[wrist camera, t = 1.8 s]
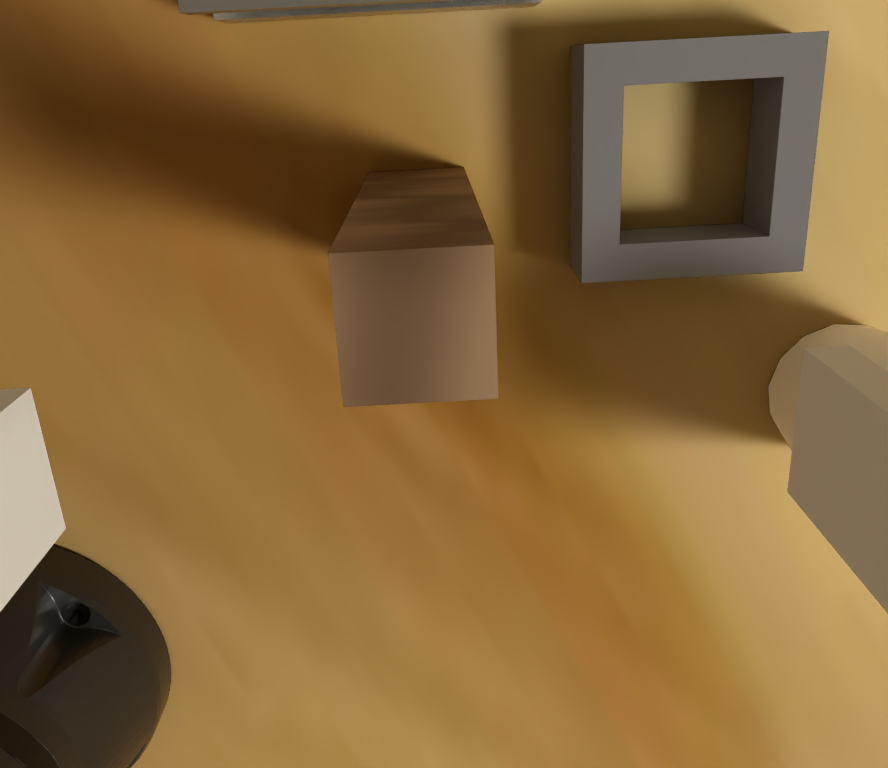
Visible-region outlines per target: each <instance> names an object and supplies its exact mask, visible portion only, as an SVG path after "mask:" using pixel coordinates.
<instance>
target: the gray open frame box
mask: <svg viewBox="0 0 888 768" xmlns="http://www.w3.org/2000/svg"><path fill="white" fill-rule="evenodd" d="M539 3H541V0H178V5H179V11H180V13H182V14H186V15H195V14H213V17H214V20H216V21H220V22H225V23H244V22H262V21H281V20H299V19H318V18H336V17H355V16H373V15H392V14H410V13H429V12H447V11H466V10H484V9H502V8H521V7H534V6H536V5H537V4H539Z"/></svg>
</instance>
